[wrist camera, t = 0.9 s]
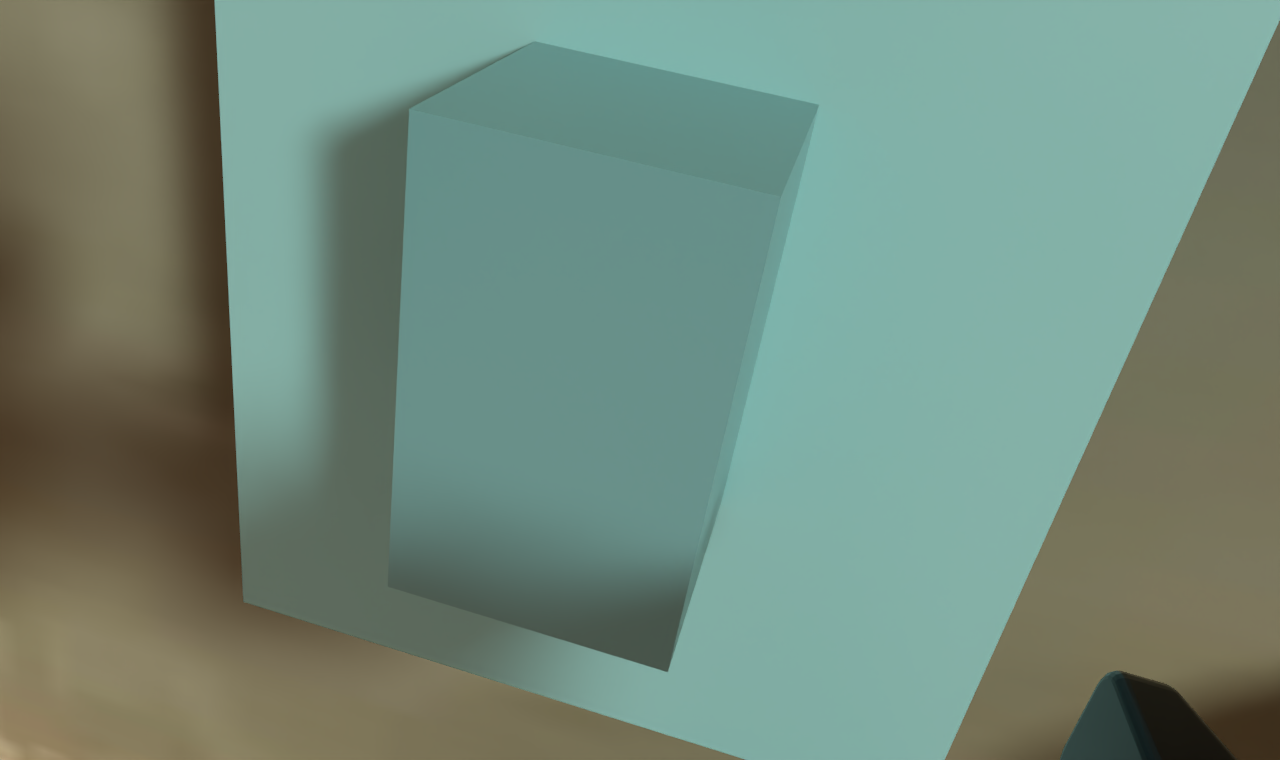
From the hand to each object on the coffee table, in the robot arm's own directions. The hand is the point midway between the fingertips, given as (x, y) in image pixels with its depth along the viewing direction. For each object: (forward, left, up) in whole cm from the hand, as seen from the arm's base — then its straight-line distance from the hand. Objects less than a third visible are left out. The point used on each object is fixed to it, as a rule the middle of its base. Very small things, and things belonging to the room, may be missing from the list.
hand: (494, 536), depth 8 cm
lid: (0, 0, -7) cm, 7 cm away
